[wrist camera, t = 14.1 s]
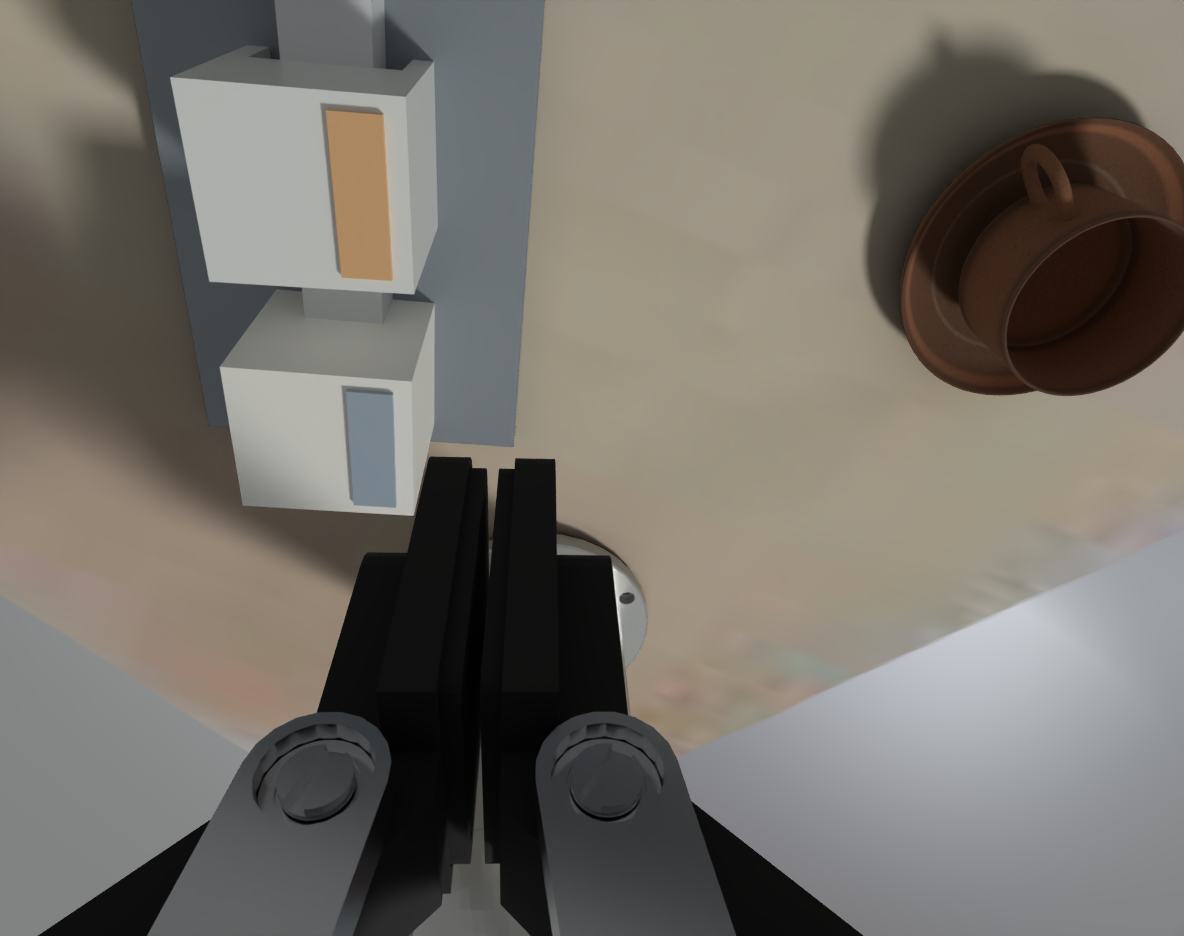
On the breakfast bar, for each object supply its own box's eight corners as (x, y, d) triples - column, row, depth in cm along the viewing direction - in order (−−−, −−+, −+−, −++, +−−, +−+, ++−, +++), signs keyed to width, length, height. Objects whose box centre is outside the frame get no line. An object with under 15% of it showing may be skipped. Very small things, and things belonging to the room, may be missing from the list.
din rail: (514, 436, 39) (507, 543, 32) (216, 414, 37) (143, 523, 31) (547, -49, 28) (548, -39, 21) (125, -105, 26) (-20, -114, 20)
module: (437, 227, 32) (413, 296, 26) (271, 215, 31) (206, 284, 26) (434, 61, 29) (404, 98, 23) (247, 45, 28) (167, 78, 22)
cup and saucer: (830, 270, 35) (878, 329, 30) (1076, 38, 30) (1183, 61, 25) (981, 419, 40) (1044, 492, 35) (1213, 239, 35) (1326, 293, 30)
